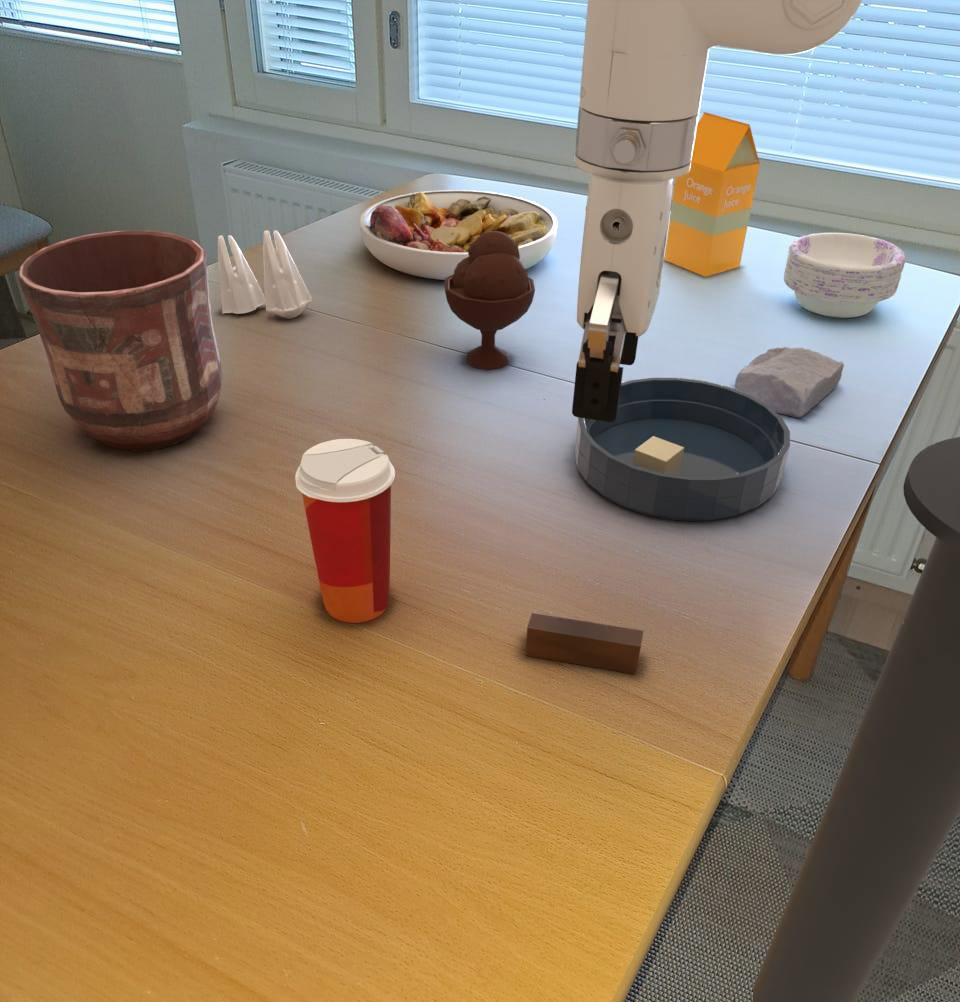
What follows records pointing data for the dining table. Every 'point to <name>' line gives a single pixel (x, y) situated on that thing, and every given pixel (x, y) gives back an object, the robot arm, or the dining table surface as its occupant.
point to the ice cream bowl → (490, 293)
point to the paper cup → (349, 525)
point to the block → (659, 456)
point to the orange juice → (714, 198)
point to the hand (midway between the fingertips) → (604, 388)
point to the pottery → (127, 334)
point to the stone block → (790, 379)
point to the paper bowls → (842, 272)
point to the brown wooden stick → (583, 643)
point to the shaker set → (280, 280)
